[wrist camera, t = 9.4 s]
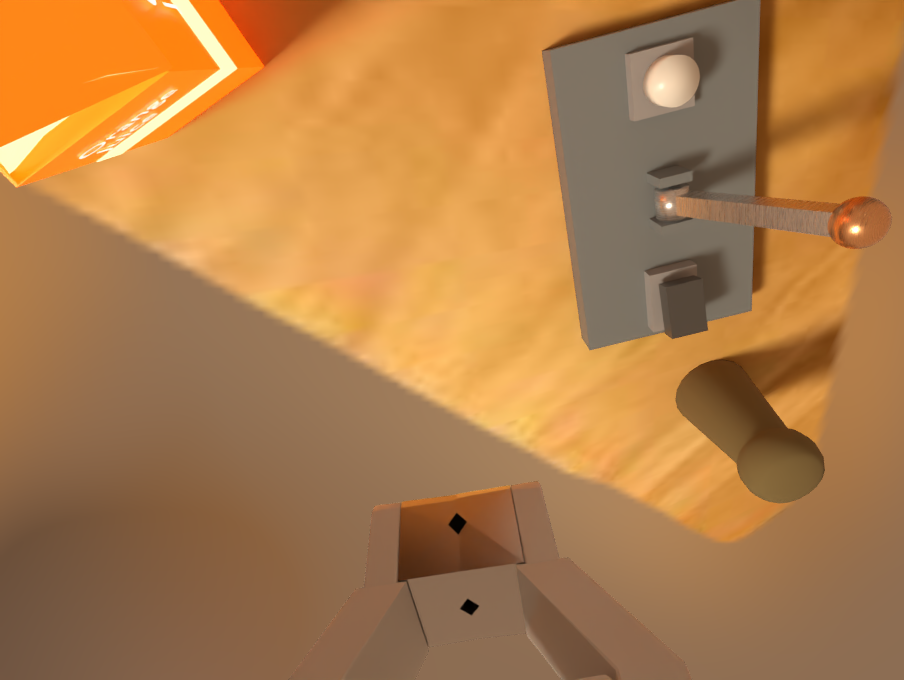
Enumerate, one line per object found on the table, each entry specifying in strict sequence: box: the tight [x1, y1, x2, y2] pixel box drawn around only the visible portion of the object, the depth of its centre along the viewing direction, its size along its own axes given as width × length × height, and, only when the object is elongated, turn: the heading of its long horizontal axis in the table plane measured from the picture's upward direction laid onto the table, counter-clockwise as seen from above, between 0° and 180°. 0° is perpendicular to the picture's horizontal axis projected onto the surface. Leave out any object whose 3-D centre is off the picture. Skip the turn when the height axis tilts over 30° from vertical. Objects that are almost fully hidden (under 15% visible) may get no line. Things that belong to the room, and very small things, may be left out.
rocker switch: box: [659, 275, 708, 339], centre depth 36 cm, size 4×2×1 cm, turn 13°
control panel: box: [542, 0, 760, 350], centre depth 35 cm, size 20×12×4 cm, turn 13°
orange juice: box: [0, 0, 264, 187], centre depth 22 cm, size 8×9×20 cm
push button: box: [643, 55, 700, 108], centre depth 30 cm, size 3×3×1 cm
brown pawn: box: [676, 360, 825, 503], centre depth 40 cm, size 6×6×11 cm
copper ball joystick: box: [654, 183, 892, 249], centre depth 30 cm, size 2×2×13 cm
